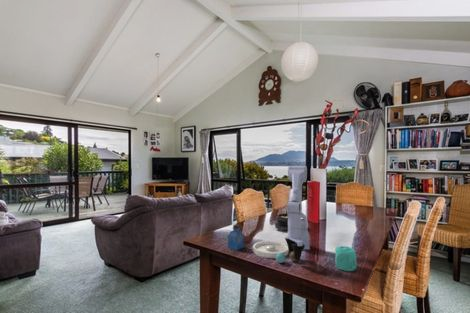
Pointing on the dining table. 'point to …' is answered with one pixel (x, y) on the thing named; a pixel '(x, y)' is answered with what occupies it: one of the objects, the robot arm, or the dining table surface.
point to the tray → (267, 254)
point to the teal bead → (280, 257)
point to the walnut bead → (292, 256)
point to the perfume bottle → (236, 238)
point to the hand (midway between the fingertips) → (294, 256)
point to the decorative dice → (345, 258)
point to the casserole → (282, 222)
